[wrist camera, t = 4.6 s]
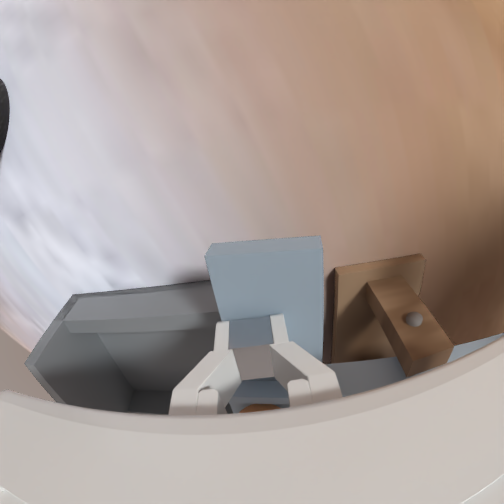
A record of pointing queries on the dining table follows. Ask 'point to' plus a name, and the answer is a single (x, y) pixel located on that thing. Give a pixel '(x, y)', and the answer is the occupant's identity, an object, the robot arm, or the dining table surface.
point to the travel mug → (3, 113)
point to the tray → (126, 347)
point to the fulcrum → (386, 316)
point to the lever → (292, 311)
